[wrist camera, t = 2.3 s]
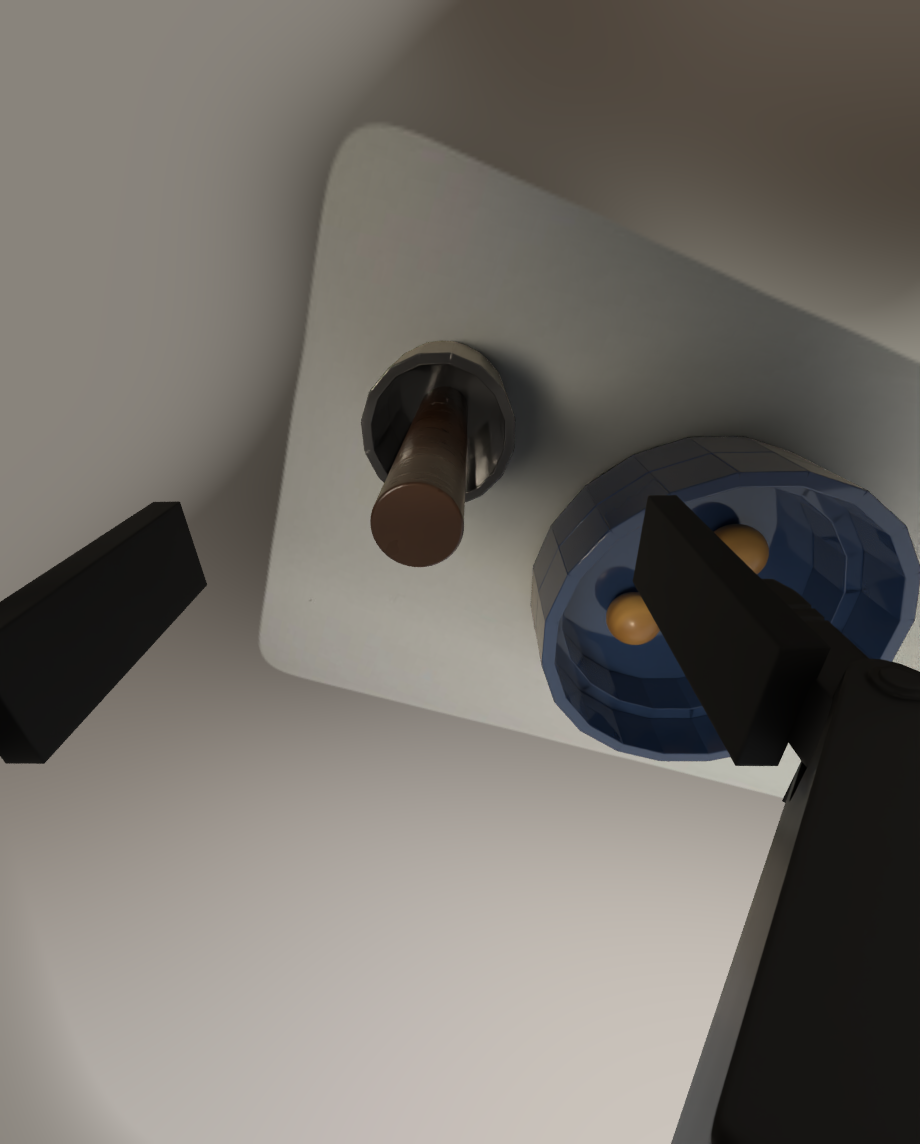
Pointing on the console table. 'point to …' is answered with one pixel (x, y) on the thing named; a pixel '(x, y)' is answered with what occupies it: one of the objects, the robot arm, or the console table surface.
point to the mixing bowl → (718, 497)
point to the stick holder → (403, 395)
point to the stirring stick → (426, 485)
